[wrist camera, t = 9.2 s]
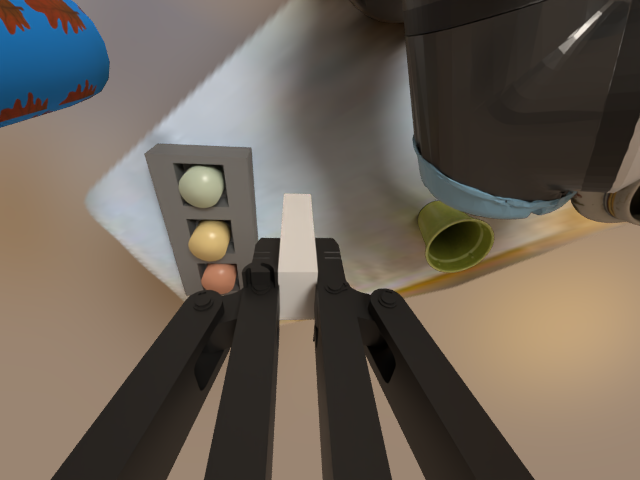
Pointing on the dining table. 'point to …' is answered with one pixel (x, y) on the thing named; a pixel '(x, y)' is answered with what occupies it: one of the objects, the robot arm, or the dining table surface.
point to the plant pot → (453, 238)
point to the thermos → (47, 58)
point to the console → (184, 217)
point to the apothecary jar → (610, 205)
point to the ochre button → (210, 239)
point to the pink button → (219, 277)
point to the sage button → (202, 185)
